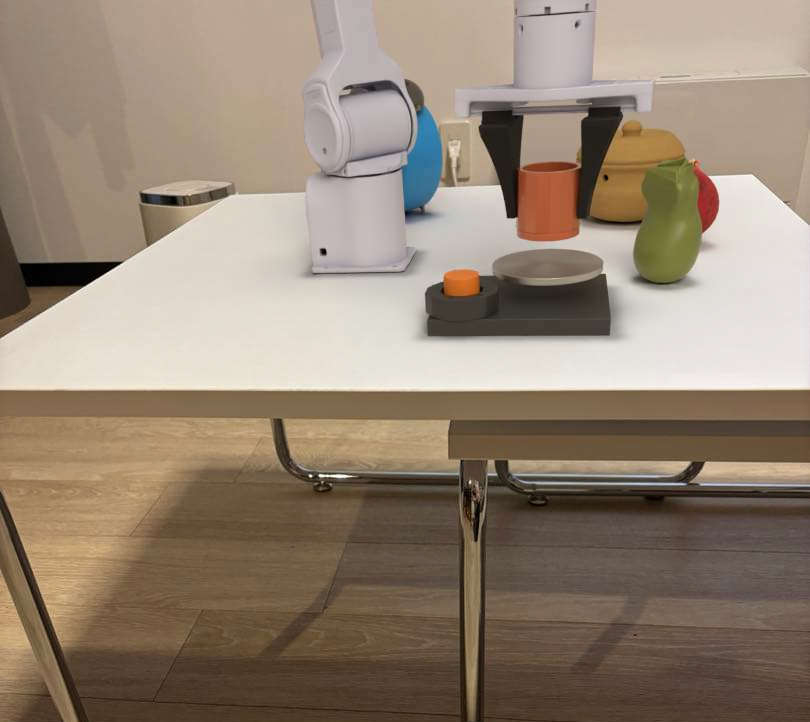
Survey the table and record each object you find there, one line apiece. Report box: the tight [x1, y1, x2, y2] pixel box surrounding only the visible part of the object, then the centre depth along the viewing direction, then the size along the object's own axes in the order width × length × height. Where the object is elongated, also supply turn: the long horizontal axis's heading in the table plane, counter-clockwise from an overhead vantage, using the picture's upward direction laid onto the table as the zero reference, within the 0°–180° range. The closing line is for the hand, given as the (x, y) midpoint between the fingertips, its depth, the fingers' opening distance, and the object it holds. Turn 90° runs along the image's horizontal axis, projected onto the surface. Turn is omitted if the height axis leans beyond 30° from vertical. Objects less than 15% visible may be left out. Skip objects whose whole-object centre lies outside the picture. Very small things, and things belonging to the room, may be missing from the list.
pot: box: [575, 119, 686, 223], centre depth 91 cm, size 12×12×10 cm
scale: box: [424, 273, 612, 337], centre depth 68 cm, size 14×12×3 cm
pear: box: [632, 157, 703, 284], centre depth 70 cm, size 6×5×10 cm
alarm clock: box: [348, 78, 444, 215], centre depth 100 cm, size 13×6×15 cm, turn 40°
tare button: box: [443, 268, 480, 296], centre depth 65 cm, size 3×3×2 cm
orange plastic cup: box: [515, 160, 582, 242], centre depth 65 cm, size 5×5×5 cm
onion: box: [688, 158, 720, 235], centre depth 80 cm, size 6×6×8 cm
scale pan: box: [491, 248, 604, 286], centre depth 68 cm, size 9×9×1 cm
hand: (548, 216), depth 66 cm, fingers closed on orange plastic cup, 5 cm apart
